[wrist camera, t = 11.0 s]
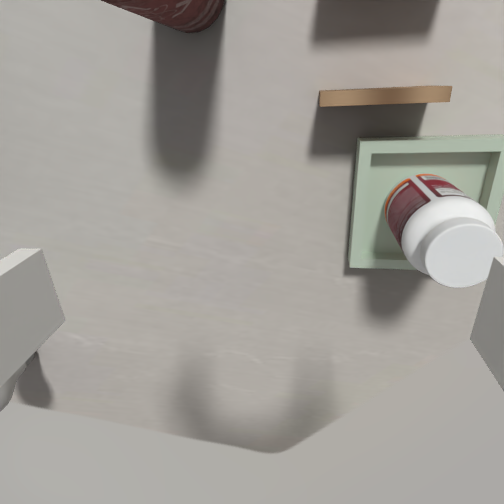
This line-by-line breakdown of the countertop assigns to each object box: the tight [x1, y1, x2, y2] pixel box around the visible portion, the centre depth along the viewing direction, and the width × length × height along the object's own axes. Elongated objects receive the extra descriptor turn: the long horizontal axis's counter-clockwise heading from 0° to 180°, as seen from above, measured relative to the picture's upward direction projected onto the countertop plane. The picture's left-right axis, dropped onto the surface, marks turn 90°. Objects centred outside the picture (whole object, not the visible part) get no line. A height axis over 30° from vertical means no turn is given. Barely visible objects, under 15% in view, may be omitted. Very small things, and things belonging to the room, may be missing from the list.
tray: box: [348, 135, 504, 270], centre depth 32 cm, size 12×12×2 cm
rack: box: [319, 86, 452, 107], centre depth 26 cm, size 9×10×5 cm
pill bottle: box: [384, 173, 504, 288], centre depth 28 cm, size 6×6×11 cm
